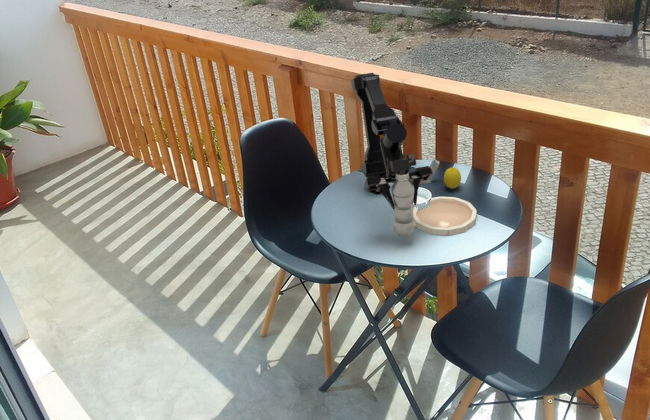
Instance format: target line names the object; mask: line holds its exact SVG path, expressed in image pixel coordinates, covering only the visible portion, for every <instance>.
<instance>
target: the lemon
mask: <svg viewBox="0 0 650 420" xmlns="http://www.w3.org/2000/svg"><path fill="white" fill-rule="evenodd" d="M461 181H462V175H461V172H460V170H459V169H458V168H457V167H453V166H451V167H448V168H447V169H446V170H445V171H444V175H443V182H444V185H445V186H446V187H447V188H449V189H451V190H454V189H456V188H458V187H459V186H460V184H461Z"/></svg>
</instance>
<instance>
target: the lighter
mask: <svg viewBox="0 0 650 420" xmlns="http://www.w3.org/2000/svg"><path fill="white" fill-rule="evenodd" d="M440 164H441V163H440V160H437V159H435V161H434V162H433V164H432V166H431V167H430V168H431V169H432V173H433V174H435V173H436V171H437V170H438V168H439V166H440ZM431 177H432V176H431ZM431 177H430V179H429V180H426V181H422V182H421V184H422V185H423V184H432V178H431ZM421 184H420V185H421Z"/></svg>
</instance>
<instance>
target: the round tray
mask: <svg viewBox="0 0 650 420" xmlns="http://www.w3.org/2000/svg"><path fill="white" fill-rule="evenodd" d="M477 212H478V211H477V209H476V208H475V207H474V205H473V204H472V203H471V202H470V201H468V200H464V199H462V198H459V197H455V196H443V195H442V196H435V197H431V200H430V206H428V207H427V208H425V209H423V210H420V211H418V207H417V208H416V207H414V206H413V214H414V219H415V224H416V226H415V228H417V229H418V230H420V231H422V232H425V233H427V234H429V235H433V236H437V235H438V236H446V237H447V236H454V235H459V234H462V233H465V232H467V231H468V230H470V229H471V228H472V227H474V226H475V225H476V220H477Z"/></svg>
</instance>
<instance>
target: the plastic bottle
mask: <svg viewBox="0 0 650 420" xmlns="http://www.w3.org/2000/svg"><path fill="white" fill-rule="evenodd" d="M409 173H410V171H406V170H403V171H400V172H396V178H395V179H396V181H395V182H393V184H392V185H391V196H392V199H393V202H394V206H395V209H394V215H393V217H394V218H393V221H392V222H393V223H392V226H393V231H394V232H395V234H396V235H398V236H400V237H409V236H411V235H412V234H413V233H414V232H415V230H416V224H415V219H414V214H413V209H414V203H413V198H414V186H413V184H412V183H411V179H409Z"/></svg>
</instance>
